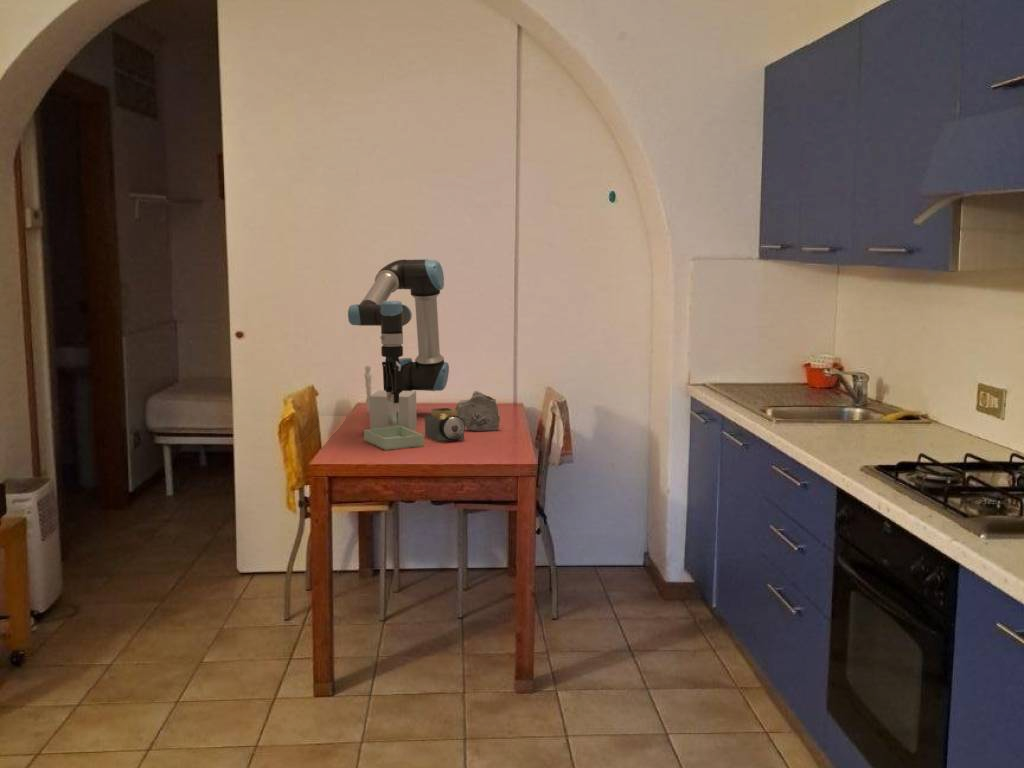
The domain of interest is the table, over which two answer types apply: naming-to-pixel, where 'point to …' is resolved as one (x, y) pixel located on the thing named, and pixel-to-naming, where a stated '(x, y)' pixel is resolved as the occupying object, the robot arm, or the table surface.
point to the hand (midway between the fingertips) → (393, 410)
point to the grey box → (380, 407)
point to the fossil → (479, 412)
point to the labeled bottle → (392, 414)
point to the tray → (394, 437)
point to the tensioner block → (444, 425)
